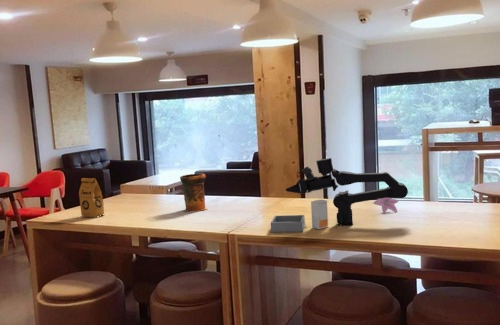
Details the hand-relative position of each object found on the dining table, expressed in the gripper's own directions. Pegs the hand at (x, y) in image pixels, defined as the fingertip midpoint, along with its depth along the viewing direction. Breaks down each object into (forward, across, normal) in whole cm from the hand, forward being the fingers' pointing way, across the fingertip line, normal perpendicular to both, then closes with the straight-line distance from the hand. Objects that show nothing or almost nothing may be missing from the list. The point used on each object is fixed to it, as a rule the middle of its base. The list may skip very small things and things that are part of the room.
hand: (287, 189), depth 217 cm
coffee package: (+117, -22, -8) cm, 119 cm away
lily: (-40, -28, +20) cm, 53 cm away
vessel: (+62, -37, -1) cm, 72 cm away
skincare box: (-11, +4, +20) cm, 23 cm away
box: (+2, +6, +17) cm, 18 cm away
